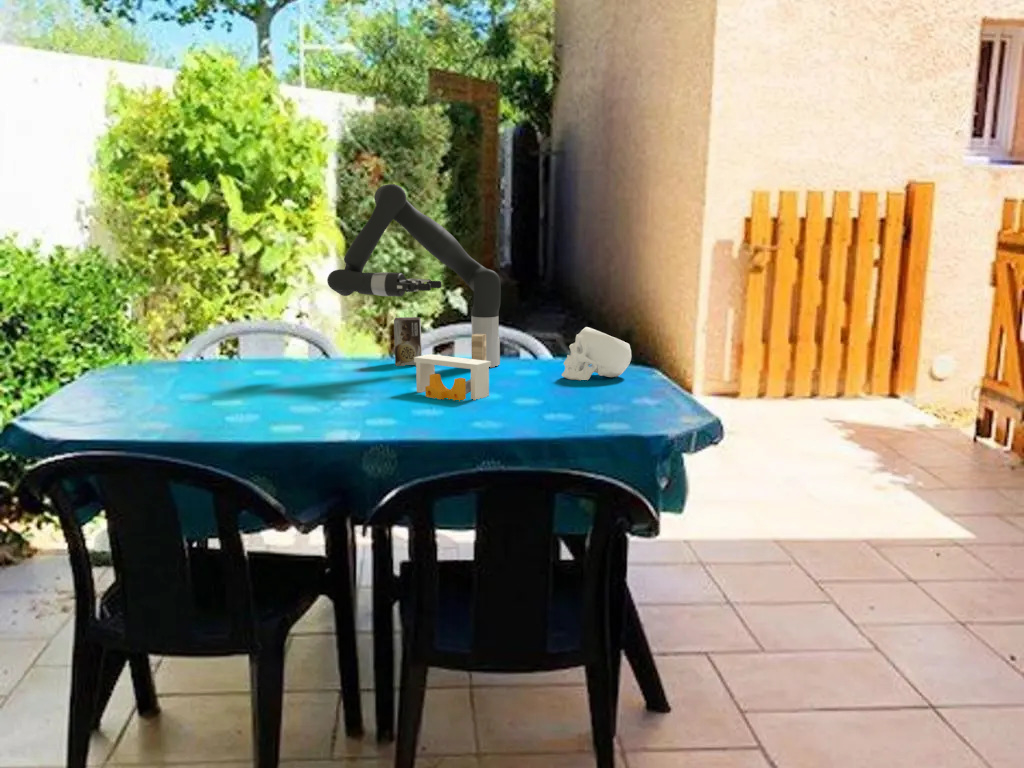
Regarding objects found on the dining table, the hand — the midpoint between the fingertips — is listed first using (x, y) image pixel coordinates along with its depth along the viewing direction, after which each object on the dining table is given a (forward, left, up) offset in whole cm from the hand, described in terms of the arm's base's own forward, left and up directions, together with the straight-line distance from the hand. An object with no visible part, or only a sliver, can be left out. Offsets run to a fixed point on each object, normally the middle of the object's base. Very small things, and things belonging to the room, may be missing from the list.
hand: (435, 285), depth 319 cm
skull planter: (-32, +40, -30) cm, 59 cm away
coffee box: (-18, -26, -30) cm, 43 cm away
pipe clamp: (+21, +19, -30) cm, 41 cm away
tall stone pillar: (+9, +19, -30) cm, 37 cm away
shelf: (+15, +17, -30) cm, 38 cm away
